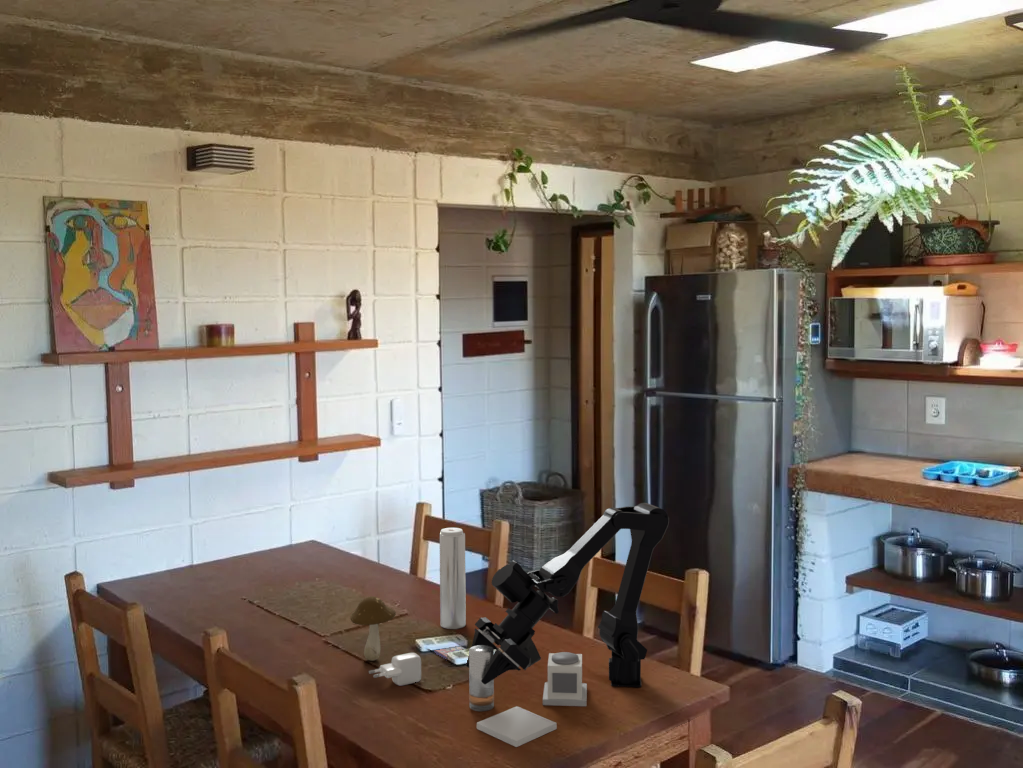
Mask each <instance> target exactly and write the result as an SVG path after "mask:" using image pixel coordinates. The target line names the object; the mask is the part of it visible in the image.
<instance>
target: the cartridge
mask: <svg viewBox="0 0 1023 768" xmlns="http://www.w3.org/2000/svg"><path fill="white" fill-rule="evenodd" d="M468 650H469V668H468V669H469V670H468V674H469V675H468V676H469V678H468V680H469V681H468V683H469V685H468V689H469V691H468V692H469V693H468V701H469V709H470V710H472V711H475V712H487V711H491V710H493V708H494V707H495V685H494V684H495V682H494V681H495V679H493V680H492V681H490V682H489V683H487V684H483V683H482V682H481V680H482V678H483V675H484V673H485V671H486V669H487V667H488V665H489V663H490V661H491V659H492V657H493V655H494V653H495V650H494V649H493V648H492V647H490V646H486V645H477V646H473V647H471V646H470V647H469V649H468Z"/></svg>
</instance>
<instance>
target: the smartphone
mask: <svg viewBox="0 0 1023 768" xmlns="http://www.w3.org/2000/svg"><path fill="white" fill-rule="evenodd" d="M462 649H467V648H466V646H465V647H464V646H463V645H461V646H460V647H457V646H455V647H449V648H446V649H440V650H434V652H435V653H436V654H435V653H434V654H435V655H437V656H438V655H439V656H438V657H440V656H441V657H440V658H442V657H443V658H442V659H444V658H445V659H446V658H447V653H448V652H453V651H459V650H462ZM445 659H444V660H445ZM447 659H448V658H447Z"/></svg>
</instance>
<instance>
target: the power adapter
mask: <svg viewBox="0 0 1023 768" xmlns="http://www.w3.org/2000/svg"><path fill="white" fill-rule="evenodd" d="M375 673H376V674H375ZM368 674H370V675H371V674H372V677H373V678H374V679H376V678H379V677H385V679H390V678H391V679H392V682H393V683H394V684H395V685H396V686H407V685H411V684H415V682H416V683H419V682H421V679H422V659H421V656H420V655H419V654H417V653H416V652H408V653H403V654H396V655H394V656H392V657H391V662H389V663H385V664H381V665H380V666H379V668H376V669H370V670H368Z"/></svg>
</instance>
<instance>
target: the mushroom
mask: <svg viewBox="0 0 1023 768" xmlns="http://www.w3.org/2000/svg"><path fill="white" fill-rule="evenodd" d="M396 613H397V612H396V610H395V609H394V608H392V607H390V606H388V605H386V604H385V602H384V601H383V600H382V599H381V598H379V597H378V596H373V595H370V596H366V597H364V598H363V599H362V600H361V601H359V603H358V605H357V607H356V608H355V610H354V611H353V612H351V614H350V618H349V619H350V622H352V624H355V625H359V626H369V633H368V636H367V640H366V643H365V645H364V650H363V651H364V652H363V655H364V657H365V660H368V661H371V662H372V661H376V660H378V659H379V657H380V655H381V640H380V639H381V638H380V633H379V624H383V623H387V622H390V621H391V620H393V618H395V616H396Z"/></svg>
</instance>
